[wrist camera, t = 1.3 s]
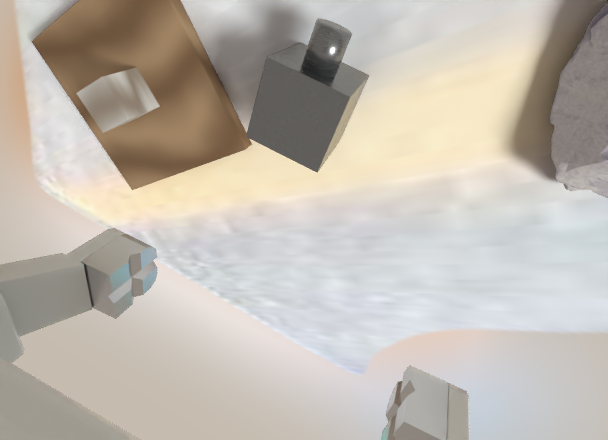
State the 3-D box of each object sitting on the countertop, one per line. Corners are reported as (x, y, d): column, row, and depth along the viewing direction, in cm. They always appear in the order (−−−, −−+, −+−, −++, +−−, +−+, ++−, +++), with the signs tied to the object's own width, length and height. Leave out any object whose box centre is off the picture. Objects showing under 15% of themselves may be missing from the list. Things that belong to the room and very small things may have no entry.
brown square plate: (44, 39, 39) (-13, 47, 34) (154, -53, 30) (98, -59, 25) (140, 184, 46) (104, 208, 41) (251, 144, 37) (222, 168, 32)
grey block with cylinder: (279, 111, 34) (246, 136, 29) (313, 3, 28) (279, 9, 23) (339, 141, 34) (317, 172, 28) (386, 38, 28) (369, 52, 22)
